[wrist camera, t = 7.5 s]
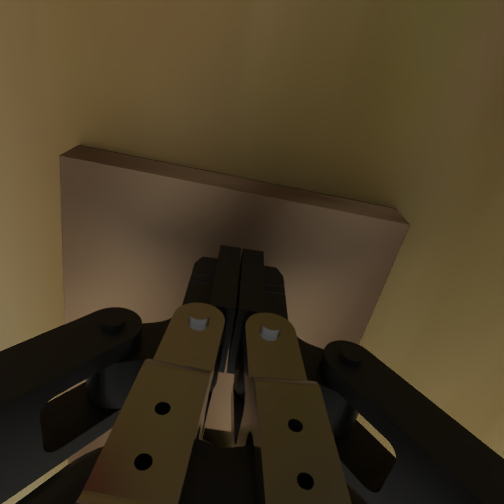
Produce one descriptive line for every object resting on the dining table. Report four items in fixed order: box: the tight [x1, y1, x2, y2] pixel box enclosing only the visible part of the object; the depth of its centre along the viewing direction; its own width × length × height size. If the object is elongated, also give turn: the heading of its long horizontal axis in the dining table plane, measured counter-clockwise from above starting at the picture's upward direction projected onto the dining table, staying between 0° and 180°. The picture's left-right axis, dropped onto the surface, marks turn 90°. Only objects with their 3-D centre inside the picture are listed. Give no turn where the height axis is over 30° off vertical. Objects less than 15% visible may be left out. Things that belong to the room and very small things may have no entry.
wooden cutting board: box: [60, 145, 410, 464], centre depth 18 cm, size 12×20×2 cm, turn 169°
